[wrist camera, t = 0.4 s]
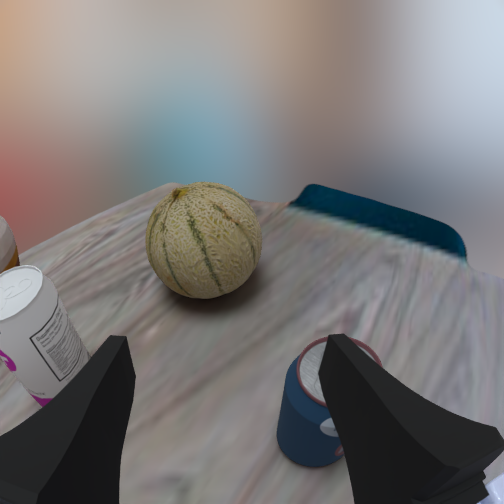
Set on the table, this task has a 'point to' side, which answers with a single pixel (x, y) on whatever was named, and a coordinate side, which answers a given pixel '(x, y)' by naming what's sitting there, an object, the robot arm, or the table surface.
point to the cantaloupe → (203, 240)
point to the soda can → (309, 410)
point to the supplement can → (37, 334)
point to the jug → (7, 248)
